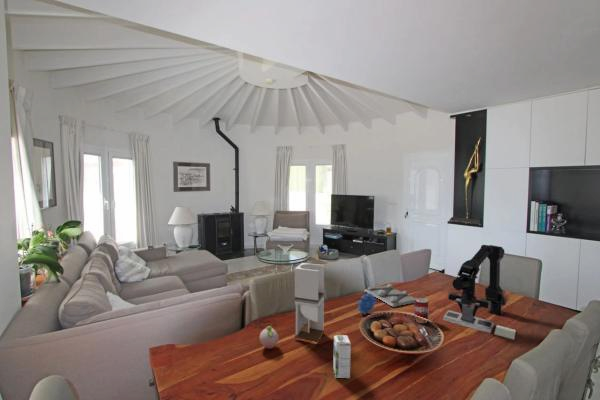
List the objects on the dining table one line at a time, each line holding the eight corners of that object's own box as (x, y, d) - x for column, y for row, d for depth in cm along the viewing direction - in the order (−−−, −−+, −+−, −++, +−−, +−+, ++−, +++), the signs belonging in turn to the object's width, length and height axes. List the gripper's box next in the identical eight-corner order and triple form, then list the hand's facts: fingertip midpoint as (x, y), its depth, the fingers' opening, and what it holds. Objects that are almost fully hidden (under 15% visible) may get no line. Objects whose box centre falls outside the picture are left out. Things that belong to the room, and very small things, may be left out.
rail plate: (448, 313, 167) (448, 309, 167) (493, 325, 153) (493, 321, 153) (443, 320, 159) (443, 316, 159) (490, 333, 145) (490, 329, 145)
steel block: (463, 317, 160) (464, 303, 159) (474, 320, 156) (474, 305, 156) (461, 320, 156) (462, 306, 155) (472, 323, 153) (472, 308, 152)
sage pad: (496, 326, 152) (496, 325, 152) (515, 331, 147) (515, 330, 147) (494, 334, 144) (494, 333, 144) (514, 339, 139) (514, 338, 139)
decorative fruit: (257, 345, 134) (257, 324, 133) (274, 341, 137) (274, 321, 137) (262, 356, 125) (262, 333, 125) (280, 352, 128) (280, 330, 128)
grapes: (371, 309, 173) (371, 289, 172) (377, 314, 167) (378, 293, 166) (354, 312, 169) (354, 292, 168) (360, 317, 163) (360, 296, 162)
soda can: (429, 325, 153) (430, 303, 153) (415, 324, 155) (415, 302, 154) (426, 319, 160) (427, 298, 160) (412, 317, 162) (413, 297, 161)
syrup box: (332, 370, 116) (333, 335, 115) (347, 369, 116) (347, 334, 116) (335, 379, 110) (336, 342, 110) (350, 378, 111) (351, 342, 110)
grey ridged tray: (419, 303, 183) (419, 292, 183) (393, 309, 174) (393, 297, 174) (387, 287, 210) (387, 278, 210) (363, 292, 202) (363, 282, 201)
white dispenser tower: (294, 340, 138) (294, 268, 137) (302, 329, 148) (302, 262, 147) (317, 344, 134) (317, 271, 133) (323, 333, 144) (323, 265, 143)
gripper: (446, 287, 155) (445, 315, 156) (487, 295, 143) (486, 326, 144) (451, 281, 164) (450, 308, 164) (490, 289, 152) (489, 318, 152)
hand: (468, 315), depth 156 cm, fingers closed on steel block, 5 cm apart
